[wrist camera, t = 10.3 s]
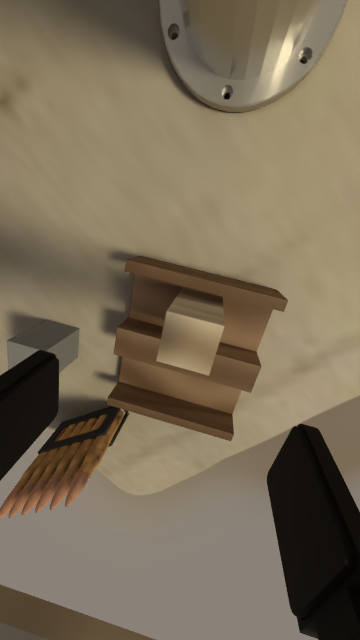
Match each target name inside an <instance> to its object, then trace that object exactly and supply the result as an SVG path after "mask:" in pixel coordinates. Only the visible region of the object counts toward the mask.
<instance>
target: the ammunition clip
mask: <svg viewBox="0 0 360 640" xmlns="http://www.w3.org/2000/svg"><path fill="white" fill-rule="evenodd" d="M128 415H129V413H128V411H127V410H124V409H120V408H117V407H114V406H111V407H108V408H105V409H102V410H99V411H96V412H92V413H89V414H86V415H83V416H80V417H77V418H74V419H71V420H68V421H65V422H62V423H61V424H60V426H59V427H58V428H57V429H56V430H55V432H54V433H53V434H52V436H51V437H50V438H49V439H48V440H47V442H46V443H45V444H44V445H43V446H42V448H41V449H40V450H39V451H38V454H39V455H38V456H37V458H36V459H35V460H34V461H33V463H32V464H31V465H30V466H29V468H28V469H27V470H26V471H25V473H24V474H23V476H22V478H21V479H20V481H19V482H18V483H17V485H16V486H15V488H14V489H13V490H12V492H11V493H10V494H9V496H8V497H7V499H6V500H5V501H4V503H3V505H2V507H1V508H0V518H2V517H3V516H4V515H5V514H6V513H8V512H9V511H10V513H9V518H11V517H12V516H14V515H15V514H16V513H17V512H18V511H19V510H20V509H21V508H22V507H23V506H24V507H23V510H22V515H25V514H26V513H27V512H28V511H30V510H31V509H32V507H34V506H35V505H36V503H37V502H38V503H37V506H36V510H35V512H36V513H37V512H39V511H40V510H41V509H42V508H43V507H44V506H45V505H46V504H47V503H48V502H49V501H50V500H51V499H52V497H53V499H52V501H51V504H50V510H52V509H53V508H55V507H56V506H57V505H58V504H59V503H60V502H61V500H63V498H64V497H65V496H66V494H67V493H68V495H67V498H66V503H65V506H66V507H68V506H69V505H70V504H71V503H72V502H73V501H74V500H75V499H76V498H77V496H78V495H79V494H80V492H81V491H82V489H83V488H84V486H85V484H86V483H87V481H88V479H89V478H90V476H91V474H92V473H93V471H94V470H95V469H96V467H97V466H98V465H99V463H100V461H101V459H102V457H103V455H104V453H105V451H106V450H107V448H108V447H109V446H112V444H113V442H114V440H115V439H116V437H117V435H118V433H119V431H120V429H121V428H122V426H123V424H124V422H125V420H126V418H127V417H128Z"/></svg>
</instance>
